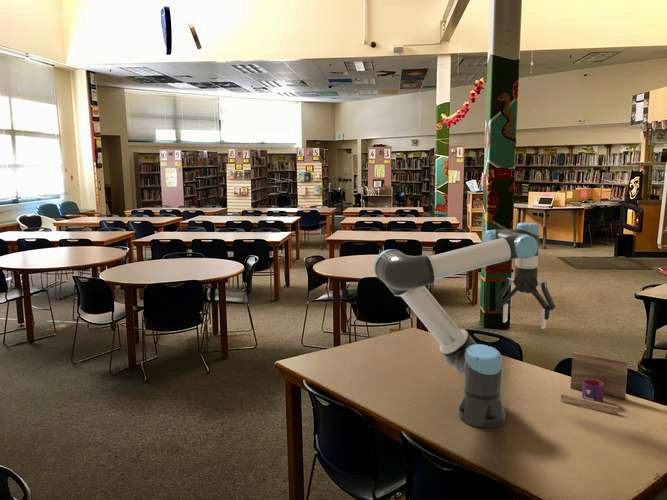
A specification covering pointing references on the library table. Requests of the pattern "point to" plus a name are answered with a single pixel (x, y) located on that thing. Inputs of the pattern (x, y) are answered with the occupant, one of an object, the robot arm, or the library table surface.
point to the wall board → (600, 373)
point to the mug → (593, 390)
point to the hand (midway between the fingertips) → (523, 324)
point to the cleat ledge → (589, 404)
